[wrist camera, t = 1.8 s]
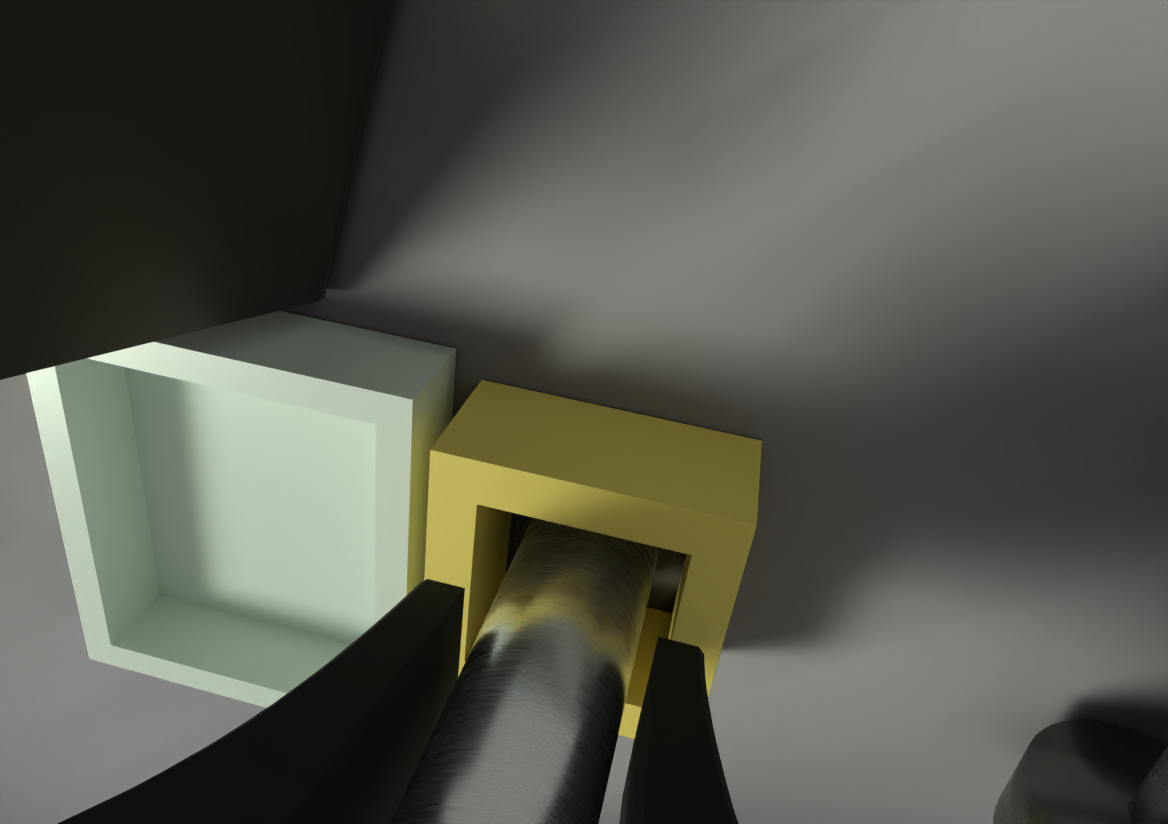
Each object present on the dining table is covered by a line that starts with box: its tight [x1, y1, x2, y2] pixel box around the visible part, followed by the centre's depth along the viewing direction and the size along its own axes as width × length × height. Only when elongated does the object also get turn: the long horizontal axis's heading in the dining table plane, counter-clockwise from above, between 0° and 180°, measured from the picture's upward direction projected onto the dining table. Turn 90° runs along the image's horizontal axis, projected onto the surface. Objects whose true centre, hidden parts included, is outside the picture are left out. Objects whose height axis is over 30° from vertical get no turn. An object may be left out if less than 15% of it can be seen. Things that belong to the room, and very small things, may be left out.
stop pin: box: [391, 517, 660, 824], centre depth 12 cm, size 3×3×9 cm
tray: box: [27, 311, 456, 708], centre depth 16 cm, size 8×7×2 cm
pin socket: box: [424, 380, 762, 739], centre depth 15 cm, size 5×5×2 cm
